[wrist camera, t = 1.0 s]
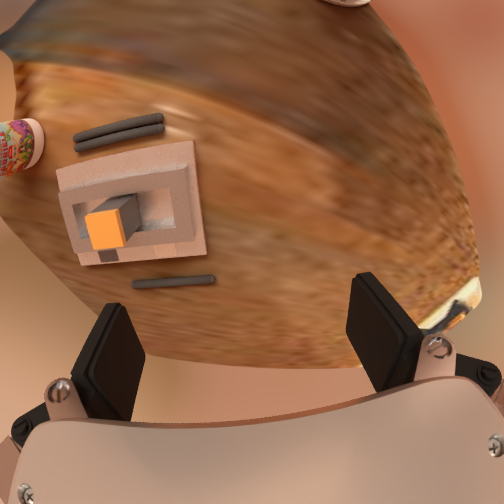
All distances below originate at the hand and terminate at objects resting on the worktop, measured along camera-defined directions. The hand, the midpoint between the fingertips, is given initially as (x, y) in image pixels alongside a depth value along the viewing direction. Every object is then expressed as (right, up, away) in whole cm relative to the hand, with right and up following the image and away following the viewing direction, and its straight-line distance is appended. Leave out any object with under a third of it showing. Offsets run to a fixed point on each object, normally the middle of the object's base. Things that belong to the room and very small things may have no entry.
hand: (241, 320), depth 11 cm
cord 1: (-17, +19, +18) cm, 31 cm away
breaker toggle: (-16, +8, +22) cm, 28 cm away
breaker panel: (-16, +9, +23) cm, 30 cm away
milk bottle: (-33, +19, +17) cm, 42 cm away
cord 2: (-11, -2, +29) cm, 31 cm away
